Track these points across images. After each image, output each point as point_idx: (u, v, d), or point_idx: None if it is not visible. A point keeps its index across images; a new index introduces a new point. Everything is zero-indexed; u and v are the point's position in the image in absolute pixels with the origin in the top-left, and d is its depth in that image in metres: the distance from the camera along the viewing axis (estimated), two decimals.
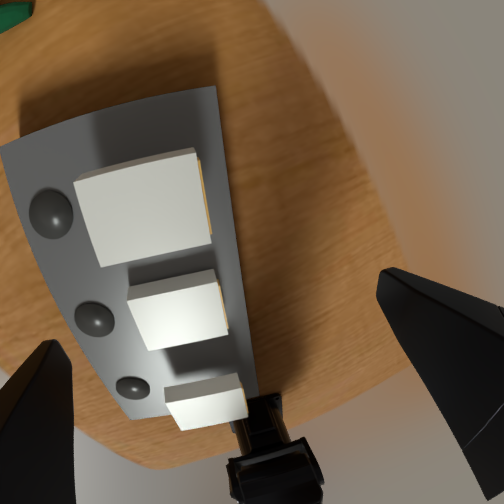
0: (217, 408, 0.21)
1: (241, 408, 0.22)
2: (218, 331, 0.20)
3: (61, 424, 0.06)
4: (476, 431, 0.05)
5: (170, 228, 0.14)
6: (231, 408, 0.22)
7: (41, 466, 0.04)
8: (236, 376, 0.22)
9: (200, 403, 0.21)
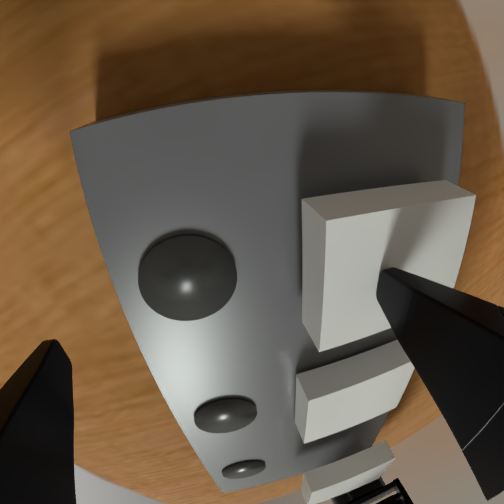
0: (360, 480, 0.15)
1: (379, 473, 0.16)
2: (390, 406, 0.14)
3: (61, 424, 0.06)
4: (476, 431, 0.05)
5: None
6: (371, 476, 0.16)
7: (41, 466, 0.04)
8: (386, 445, 0.16)
9: (347, 482, 0.15)
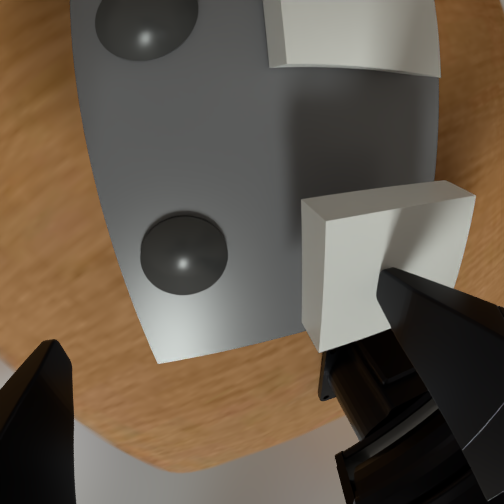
0: (423, 261, 0.09)
1: (452, 271, 0.09)
2: (428, 61, 0.07)
3: (61, 424, 0.06)
4: (475, 431, 0.05)
5: None
6: (441, 268, 0.09)
7: (41, 466, 0.04)
8: (450, 183, 0.09)
9: (402, 235, 0.08)
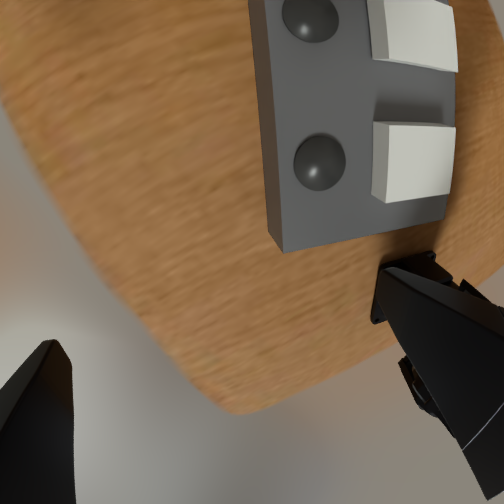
0: (432, 158, 0.16)
1: (449, 170, 0.16)
2: (451, 63, 0.13)
3: (61, 424, 0.06)
4: (476, 431, 0.05)
5: None
6: (442, 165, 0.16)
7: (41, 466, 0.04)
8: (442, 124, 0.16)
9: (420, 140, 0.15)
